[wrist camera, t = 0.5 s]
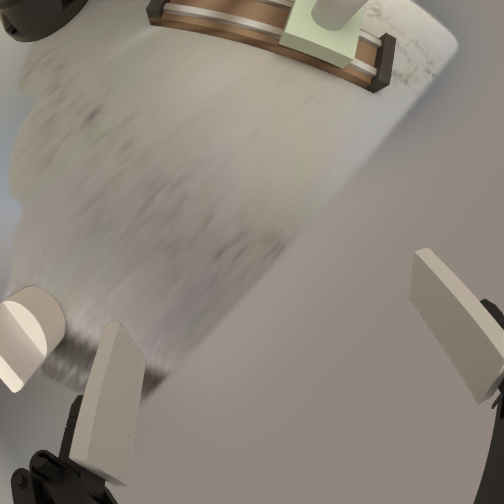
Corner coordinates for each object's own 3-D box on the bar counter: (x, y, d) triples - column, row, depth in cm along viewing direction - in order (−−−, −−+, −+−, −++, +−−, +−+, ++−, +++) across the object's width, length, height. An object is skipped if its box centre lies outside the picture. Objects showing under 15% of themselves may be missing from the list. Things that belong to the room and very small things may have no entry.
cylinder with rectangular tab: (77, 327, 34) (38, 374, 23) (43, 357, 34) (5, 402, 23) (36, 273, 32) (-17, 302, 21) (5, 308, 32) (-42, 342, 21)
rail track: (150, 24, 29) (145, 9, 25) (174, -17, 27) (172, -34, 24) (373, 93, 34) (389, 84, 30) (381, 48, 33) (396, 38, 29)
